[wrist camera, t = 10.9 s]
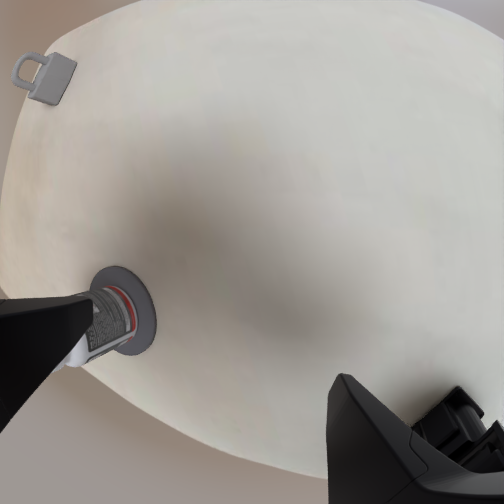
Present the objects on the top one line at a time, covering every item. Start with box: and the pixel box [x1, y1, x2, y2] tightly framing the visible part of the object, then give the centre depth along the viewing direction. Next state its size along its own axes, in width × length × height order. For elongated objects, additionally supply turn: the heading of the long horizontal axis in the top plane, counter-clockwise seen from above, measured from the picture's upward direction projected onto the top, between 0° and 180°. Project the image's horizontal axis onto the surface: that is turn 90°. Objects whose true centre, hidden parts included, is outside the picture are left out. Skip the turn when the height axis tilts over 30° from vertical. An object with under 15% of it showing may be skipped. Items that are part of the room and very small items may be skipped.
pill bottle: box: [51, 286, 138, 373], centre depth 19 cm, size 6×6×10 cm
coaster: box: [89, 267, 156, 356], centre depth 24 cm, size 9×9×1 cm
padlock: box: [11, 52, 77, 105], centre depth 21 cm, size 7×4×10 cm, turn 159°
